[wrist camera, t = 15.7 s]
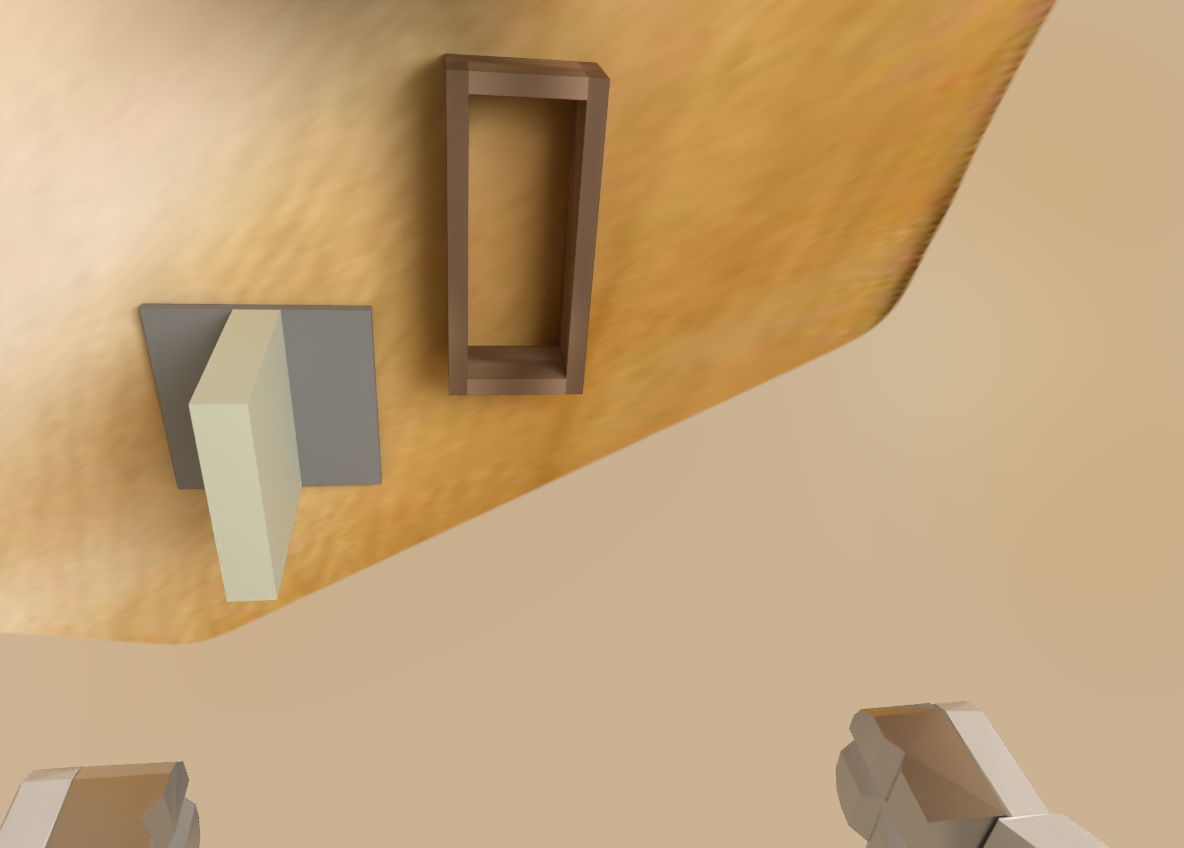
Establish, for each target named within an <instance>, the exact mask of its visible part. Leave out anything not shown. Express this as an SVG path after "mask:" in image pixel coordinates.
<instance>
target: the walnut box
mask: <svg viewBox="0 0 1184 848" xmlns="http://www.w3.org/2000/svg"><path fill="white" fill-rule="evenodd" d="M609 84H610V78H609V77H608V76H607V75H606V73H605V72H604V71H603V70H602V69H601V67H600V66H599V65H598V64H597V63H593V62H576V61H559V60H542V59H525V58H509V57H492V56H475V55H458V54H446V159H447V275H448V371H449V395H536V394H583V384H584V372H585V360H586V349H587V337H588V326H589V314H590V303H591V291H592V280H593V268H594V257H595V245H596V234H597V222H598V211H599V199H600V188H601V176H602V165H603V153H604V142H605V130H606V119H607V107H608V96H609ZM469 94H477V95H497V96H516V97H535V98H554V99H574V114H573V129H572V144H571V159H570V174H569V188H568V203H567V218H566V233H565V248H564V263H563V278H562V293H561V308H560V323H559V338H558V346H468V146H469Z"/></svg>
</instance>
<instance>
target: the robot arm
mask: <svg viewBox="0 0 1184 848" xmlns="http://www.w3.org/2000/svg"><path fill="white" fill-rule="evenodd" d="M849 729H850V731H851V733H852V735H853V737H854V739H855V740H854V741H852V742H851V743H850V744H849V745H848V746H846V747H845V748H844V749H843V750H841V752H840V756H839V759H838V763H837V766H836V785H837V793H838V797H839V800H840V804H841V808H842V810H843V813H844V815H845V817H846V820H847V822H848V825H849V826H850V827H851V828H852V829H854V830H855V831H856V832H857V833H859V834H860V835H861V836H862V837H863V838H864V839H866V840H867V846H866V848H1110V847H1109V846H1107V845H1106V844H1104V843H1103V842H1102V841H1100V840H1098V839H1097V838H1096V837H1094V836H1093V835H1091V834H1090V833H1089V832H1087V831H1086V830H1084V829H1083V828H1081V827H1080V826H1079V825H1077V824H1076V823H1074V822H1073V821H1072V820H1070V819H1069V818H1067V817H1066V816H1064V815H1063V814H1062V813H1060V812H1056V813H1049V812H1048V811H1047V809H1046V808H1045V806H1044V804H1043V803H1042V801H1041V800H1040V798H1039V797H1038V795H1037V794H1036V792H1035V791H1034V789H1033V788H1032V786H1031V785H1030V783H1029V782H1028V780H1027V779H1026V777H1025V776H1024V774H1023V773H1022V771H1021V770H1020V768H1019V767H1018V765H1017V764H1016V762H1015V761H1014V759H1013V757H1012V756H1011V754H1010V753H1009V751H1008V750H1007V748H1006V747H1005V745H1004V744H1003V742H1002V741H1001V740H1000V738H999V736H998V735H997V733H996V732H995V730H994V729H993V727H992V726H991V724H990V723H989V721H988V719H987V718H986V717H985V715H984V713H983V712H982V710H981V709H980V708H979V707H977V706H976V705H975V704H974V703H972V702H971V701H970V702H969V701H962V702H951V703H939V704H930V703H926V704H914V705H904V706H892V707H881V708H870V709H861V710H860V711H859V712H858V713H856V714H855V715H854V717H853V719H852V722H851V725H850V728H849ZM188 782H189V778H188V775H187V772H186V769H185V766H184V763H183V762H165V763H147V764H146V763H145V764H127V765H108V766H91V767H71V768H58V769H42V770H33V771H32V772H31V773H30V774H29V775H28V777H27V778H26V779H25V780H24V781H23V782H22V784H21V785H20V786H19V788H18V791H17V793H16V795H15V797H14V799H13V801H12V804H11V806H10V808H9V810H8V812H7V815H6V817H5V819H4V821H3V823H2V825H1V828H0V848H199V844H200V826H199V816H198V812H197V808H196V804H195V803H193V802H191V801H190V800H188V799H187V798H185V793H186V789H187V786H188Z"/></svg>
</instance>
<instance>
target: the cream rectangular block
mask: <svg viewBox="0 0 1184 848" xmlns="http://www.w3.org/2000/svg"><path fill="white" fill-rule="evenodd" d="M189 410H190V415H191V420H192V425H193V430H194V435H195V440H196V445H197V451H198V456H199V461H200V466H201V471H202V476H203V481H204V486H205V492H206V497H207V502H208V507H209V512H210V517H211V522H212V528H213V533H214V538H215V543H216V548H217V553H218V558H219V563H220V569H221V574H222V579H223V584H224V589H225V594H226V599H227V602H237V601H259V600H277V599H278V594H279V590H280V585H281V580H282V576H283V571H284V567H285V562H286V557H287V553H288V548H289V543H290V539H291V534H292V530H293V525H294V520H295V516H296V511H297V506H298V502H299V497H300V493H301V488H302V483H301V475H300V467H299V458H298V450H297V442H296V433H295V425H294V417H293V409H292V400H291V392H290V384H289V375H288V367H287V359H286V351H285V342H284V334H283V326H282V317H281V310H242V309H232V311H231V314H230V316H229V318H228V320H227V322H226V324H225V327H224V329H223V331H222V333H221V335H220V337H219V340H218V342H217V344H216V346H215V348H214V350H213V353H212V355H211V357H210V359H209V361H208V363H207V366H206V368H205V370H204V372H203V374H202V376H201V379H200V381H199V383H198V385H197V387H196V389H195V392H194V394H193V396H192V398H191V400H190V403H189Z"/></svg>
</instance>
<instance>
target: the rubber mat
mask: <svg viewBox="0 0 1184 848" xmlns="http://www.w3.org/2000/svg"><path fill="white" fill-rule="evenodd" d="M139 309H140V314H141V318H142V323H143V328H144V332H145V337H146V342H147V346H148V351H149V356H150V360H151V365H152V369H153V374H154V379H155V383H156V388H157V393H158V397H159V402H160V406H161V411H162V416H163V420H164V425H165V430H166V434H167V439H168V444H169V448H170V453H171V457H172V462H173V467H174V471H175V476H176V481H177V485H178V489H205V486H204V481H203V476H202V471H201V466H200V461H199V456H198V451H197V445H196V440H195V435H194V430H193V425H192V420H191V415H190V410H189V403H190V400H191V398H192V396H193V394H194V392H195V389H196V387H197V385H198V383H199V381H200V379H201V376H202V374H203V372H204V370H205V368H206V366H207V363H208V361H209V359H210V357H211V355H212V353H213V350H214V348H215V346H216V344H217V342H218V340H219V337H220V335H221V333H222V331H223V329H224V327H225V324H226V322H227V320H228V318H229V316H230V314H231V311H232V309H242V310H281V317H282V326H283V334H284V342H285V351H286V359H287V367H288V375H289V384H290V392H291V400H292V409H293V417H294V425H295V433H296V442H297V450H298V458H299V467H300V475H301V483H302V486H330V485H372V484H381V480H382V476H381V459H380V443H379V426H378V409H377V393H376V376H375V359H374V343H373V326H372V309H371V306H321V305H223V304H142V305H141V307H140V308H139Z"/></svg>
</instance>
